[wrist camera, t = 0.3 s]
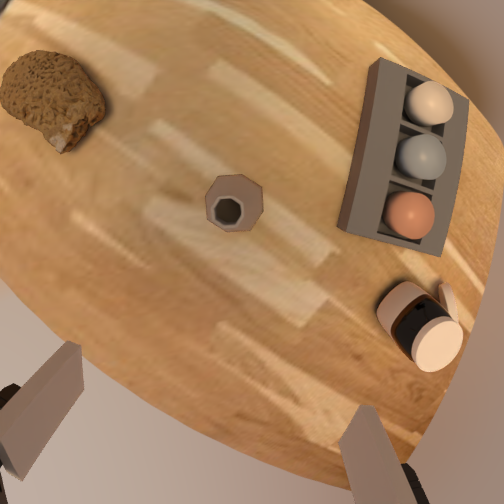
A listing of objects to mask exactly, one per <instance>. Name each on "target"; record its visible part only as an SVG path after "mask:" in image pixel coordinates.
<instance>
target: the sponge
mask: <svg viewBox="0 0 504 504" xmlns="http://www.w3.org/2000/svg"><path fill="white" fill-rule="evenodd" d="M1 85H2V86H1V87H0V102H1V105H2V107H3V108H4V109H5V110H6V111H7V112H8V113H9V114H10V115H12V116H13V117H16V119H19V120H22V121H23V122H24V124H25V125H26V126H27V125H29V126H30V127H32V128H34V129H38V130H39V131H41V132H42V133H43V135H44V138H45V139H46V140H47V141H48V142H49V143H50V144H51V145H52V146H54V147H56V151H57V152H59V153H60V154H63V153H65V152H69V151H70V150H71V149H72V148H73V147H75V146H76V143H77V142H78V141H79V140H80V139H81V137H83V136H85V133H86V131H87V130H88V124H90V126H93V125H94V124H95V123H96V122H98V121H100V120H102V119H103V117H104V115H105V111H106V109H105V101H104V99H103V96H102V94H101V92H100V90H99V89H98V87H97V86H96V85H95V84H94V83H92V81H91V80H90V79H89V77H88V76H87V75H86V74H85V73H84V71H83V69H82V68H81V66H80V65H79V63H78V62H77V61H76V60H75V59H72V58H71V57H68V56H66V55H63V54H60V53H56V52H48V51H41V50H36V51H35V52H30V53H28V54H25V55H24V56H20V57H19V58H18V60H17V62H15V63H14V62H13V63H12V65H11V66H10V67H9V68H7V70H6V72H5V73H4V75H3V81H2V84H1Z"/></svg>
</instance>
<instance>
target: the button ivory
mask: <svg viewBox="0 0 504 504" xmlns="http://www.w3.org/2000/svg"><path fill="white" fill-rule="evenodd" d="M453 108H454V107H453V101H452V98H451V96H450V94H449V92H448V91H447V90H446V88H445V87H444V86H442V85H441V84H439V83H437V82H435V81H427V82H425V83H423V84H421V85H419V86H417V87H415V88H413V89H411V90H409V91H408V92H407V93H406V95H405V97H404V109H405V112H406V114H407V116H408V117H409V119H410V120H411V121H412V122H413V123H415V124H416V125H418V126H421V127H428V126H432V125H436V124H440V123H445V122H447V121H448V120H449V119H450V118H451V117H452V114H453Z"/></svg>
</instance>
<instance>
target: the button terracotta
mask: <svg viewBox="0 0 504 504" xmlns="http://www.w3.org/2000/svg"><path fill="white" fill-rule="evenodd" d="M434 217H435V213H434V208H433V205H432V203H431V201H430V200H429V199H428V198H427V197H426V196H425V195H423V194H420V193H414V192H406V191H397V192H394V193H392V194H391V195H390V196H389V197H388V198H387V199H386V201H385V203H384V207H383V219H384V222H385V224H386V225H387V227H388V228H389V229H390V230H392V231H394V232H396V233H398V234H401V235H403V236H405V237H408V238H410V239H420V238H422V237H424V236H425V235H426V234H427V233H428V232H429V231H430V230H431V228H432V226H433V223H434Z"/></svg>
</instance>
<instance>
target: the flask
mask: <svg viewBox="0 0 504 504" xmlns="http://www.w3.org/2000/svg"><path fill="white" fill-rule="evenodd" d="M205 199H206V212H207V220H209V221H210V222H212V223H213V224H215V225H216V226H218V227H220V228H221V229H223V230H224V231H226V232H237V231H250V230H251V229H252V227H253V226H254V224H255V223H256V221H257V220H258V218H259V217H260V215H261V214H262V212H263V195H262V187H261V186H259V185H258V184H256V183H254V182H253V181H251V180H250V179H248V178H247V177H245V176H244V175H242V174H240V175H226V176H218V177H217V178H216V180H215V182H214V183H213V185H212V186H211V188H210V189H209V191H208V193H207V194H206V196H205Z"/></svg>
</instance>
